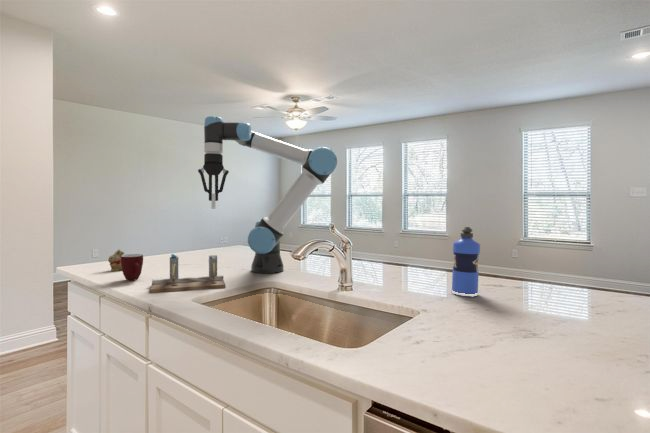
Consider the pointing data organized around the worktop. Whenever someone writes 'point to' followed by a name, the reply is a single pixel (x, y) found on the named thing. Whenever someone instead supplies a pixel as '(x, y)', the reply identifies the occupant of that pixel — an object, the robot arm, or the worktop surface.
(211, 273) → the fixed leg
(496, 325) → the worktop surface
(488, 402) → the worktop surface
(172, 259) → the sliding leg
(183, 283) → the brown wooden board
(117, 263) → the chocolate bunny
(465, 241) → the water bottle
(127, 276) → the mug
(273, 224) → the robot arm
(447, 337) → the worktop surface
